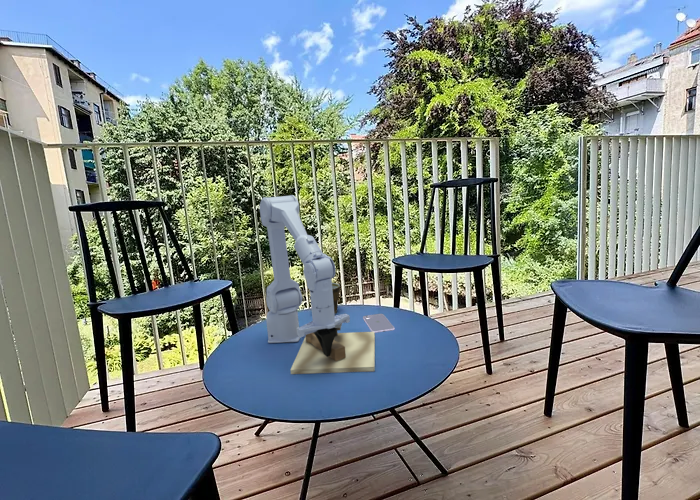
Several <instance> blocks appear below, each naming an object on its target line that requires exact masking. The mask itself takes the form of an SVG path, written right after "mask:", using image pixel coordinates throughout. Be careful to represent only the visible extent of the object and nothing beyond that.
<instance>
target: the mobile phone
mask: <svg viewBox="0 0 700 500" xmlns="http://www.w3.org/2000/svg"><path fill="white" fill-rule="evenodd" d="M362 319H363V321H364V323H366V326H367V327H368V329H369V331H370V332H375V334H376V333H378V334H379V333H384V332H385V333H386V332H390V331H394V330H395V326H394V325H393V324H392V323H391V322H390V320H389V319H388V318H387V317H386V315H385V314H383V313H375V314H368V315H364V316H363V317H362Z"/></svg>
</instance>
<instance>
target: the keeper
mask: <svg viewBox="0 0 700 500" xmlns="http://www.w3.org/2000/svg"><path fill="white" fill-rule="evenodd" d="M342 325H343V323H342V324H339V325H335V327H334V328H336V329H337V334H336V335H335V337H336V336H338V333H339V331H341V330H342Z"/></svg>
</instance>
